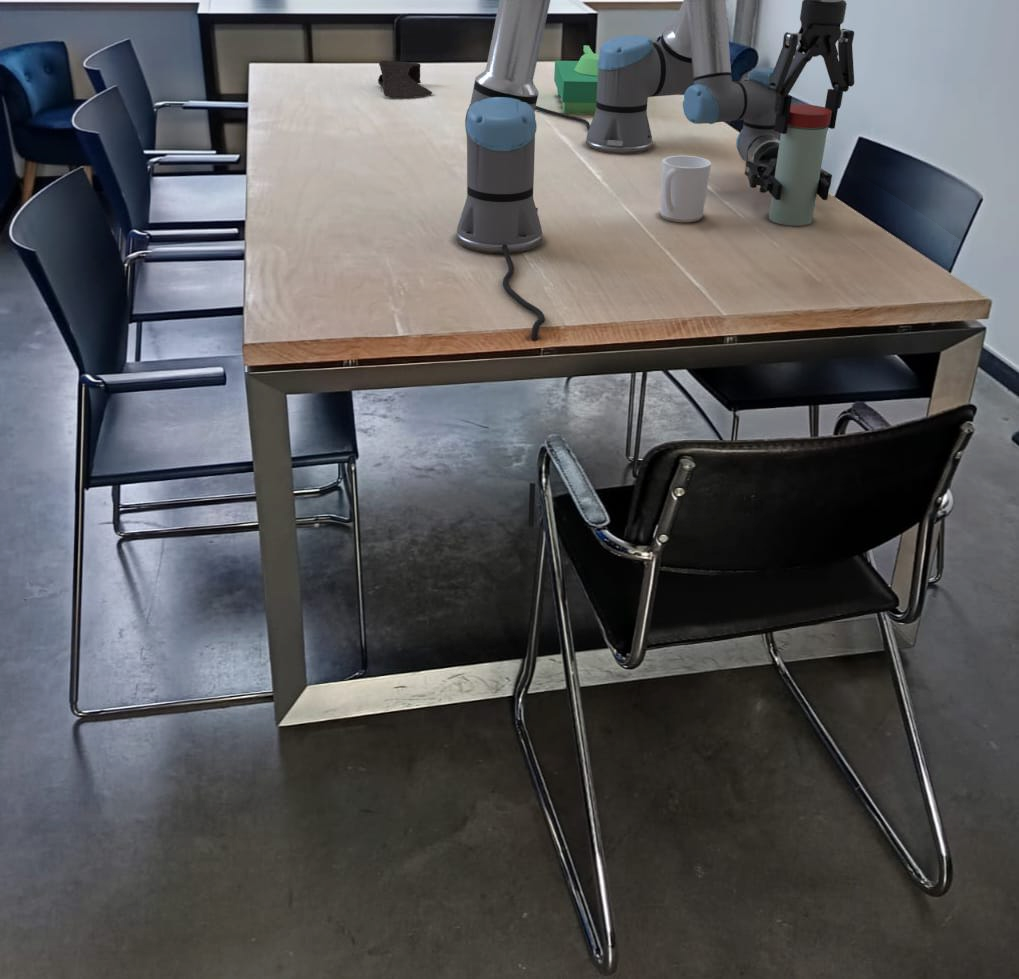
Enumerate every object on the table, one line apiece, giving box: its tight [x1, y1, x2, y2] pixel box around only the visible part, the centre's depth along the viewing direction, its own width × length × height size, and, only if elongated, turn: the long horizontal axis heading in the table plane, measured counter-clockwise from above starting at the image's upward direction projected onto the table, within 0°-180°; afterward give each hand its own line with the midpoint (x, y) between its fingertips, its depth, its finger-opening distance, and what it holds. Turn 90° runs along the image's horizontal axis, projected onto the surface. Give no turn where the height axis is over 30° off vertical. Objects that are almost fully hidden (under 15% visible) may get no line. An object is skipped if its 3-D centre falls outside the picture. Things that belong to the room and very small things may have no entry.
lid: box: [788, 103, 832, 128], centre depth 200 cm, size 9×9×2 cm
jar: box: [768, 125, 829, 227], centre depth 205 cm, size 8×8×20 cm
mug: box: [659, 155, 712, 223], centre depth 206 cm, size 11×9×10 cm
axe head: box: [377, 59, 433, 99], centre depth 299 cm, size 18×8×15 cm
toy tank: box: [553, 44, 600, 115], centre depth 290 cm, size 18×12×35 cm
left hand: (804, 129), depth 201 cm, fingers open, 10 cm apart
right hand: (802, 192), depth 202 cm, fingers closed on jar, 8 cm apart
